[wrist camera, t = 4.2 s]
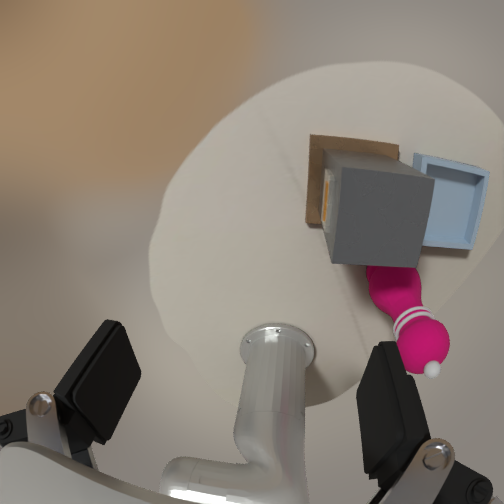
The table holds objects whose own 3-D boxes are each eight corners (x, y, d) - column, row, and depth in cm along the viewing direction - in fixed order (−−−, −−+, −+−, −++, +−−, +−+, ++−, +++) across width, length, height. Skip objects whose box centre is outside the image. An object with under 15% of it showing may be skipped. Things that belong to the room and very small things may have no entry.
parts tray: (464, 242, 34) (472, 249, 32) (401, 236, 36) (407, 244, 33) (479, 167, 29) (489, 171, 27) (414, 152, 30) (422, 155, 28)
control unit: (385, 226, 35) (425, 282, 23) (305, 220, 37) (312, 277, 24) (396, 144, 30) (452, 164, 18) (309, 134, 32) (323, 145, 19)
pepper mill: (417, 266, 37) (475, 366, 20) (382, 297, 40) (419, 406, 23) (389, 236, 36) (452, 336, 18) (352, 270, 39) (385, 384, 21)
